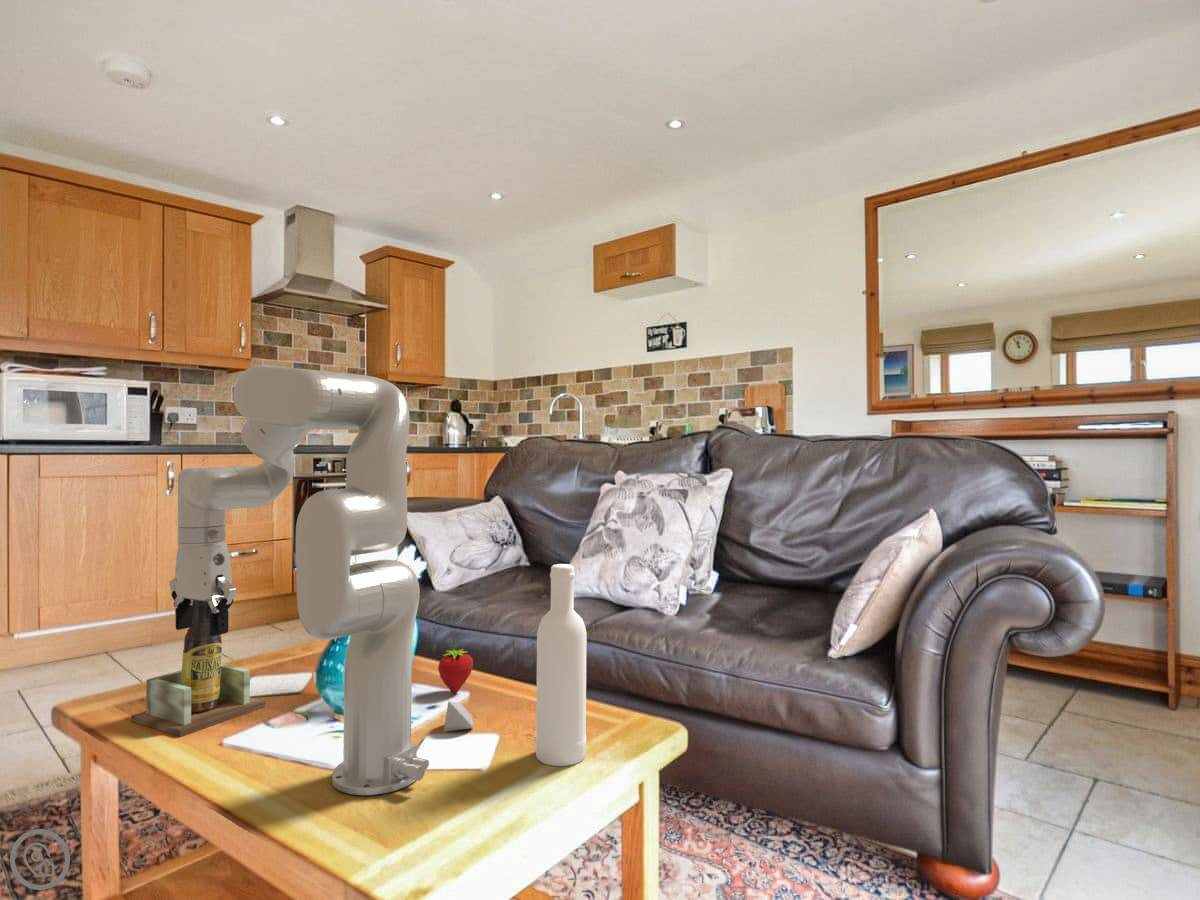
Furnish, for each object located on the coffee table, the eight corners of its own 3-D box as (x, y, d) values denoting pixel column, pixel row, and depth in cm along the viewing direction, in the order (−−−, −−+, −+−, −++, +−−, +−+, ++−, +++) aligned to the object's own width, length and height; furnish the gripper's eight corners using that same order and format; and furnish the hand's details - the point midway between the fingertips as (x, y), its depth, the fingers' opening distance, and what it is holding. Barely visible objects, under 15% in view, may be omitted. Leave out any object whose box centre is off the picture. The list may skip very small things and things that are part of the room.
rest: (265, 706, 134) (265, 668, 134) (180, 736, 119) (180, 694, 119) (216, 694, 140) (217, 658, 140) (131, 721, 126) (131, 681, 126)
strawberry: (480, 690, 143) (480, 640, 143) (452, 701, 137) (452, 649, 137) (458, 685, 147) (459, 636, 147) (430, 695, 141) (431, 644, 141)
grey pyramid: (426, 713, 124) (448, 691, 126) (445, 733, 127) (467, 712, 129) (441, 729, 119) (464, 706, 121) (461, 751, 122) (483, 728, 124)
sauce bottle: (189, 717, 125) (191, 602, 126) (173, 709, 129) (175, 597, 129) (227, 706, 131) (229, 597, 131) (211, 699, 134) (213, 592, 135)
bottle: (595, 753, 114) (597, 564, 114) (566, 771, 108) (567, 571, 108) (556, 741, 119) (557, 560, 119) (525, 758, 112) (526, 566, 112)
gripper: (252, 536, 129) (252, 632, 129) (191, 531, 137) (191, 621, 137) (212, 541, 122) (212, 641, 122) (151, 535, 130) (151, 630, 130)
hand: (201, 631), depth 130 cm, fingers open, 9 cm apart
